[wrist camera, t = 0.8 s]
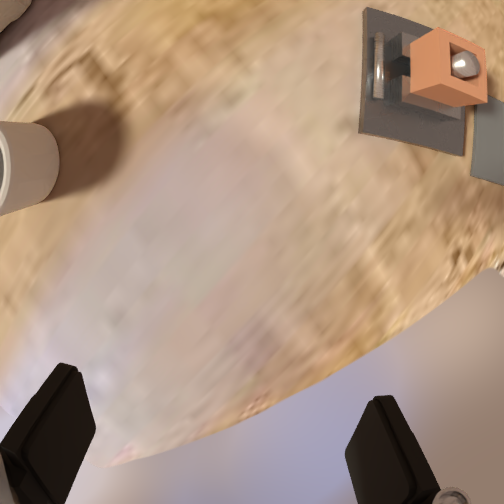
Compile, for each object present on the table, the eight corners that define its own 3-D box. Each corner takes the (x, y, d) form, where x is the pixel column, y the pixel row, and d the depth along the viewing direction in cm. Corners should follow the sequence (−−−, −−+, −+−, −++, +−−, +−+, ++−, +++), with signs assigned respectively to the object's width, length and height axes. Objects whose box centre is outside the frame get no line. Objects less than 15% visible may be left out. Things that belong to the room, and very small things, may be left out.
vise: (362, 11, 28) (401, -32, 17) (456, 44, 28) (510, 23, 17) (358, 133, 32) (405, 125, 21) (455, 156, 33) (516, 162, 22)
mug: (36, 106, 30) (-15, 100, 21) (76, 164, 33) (26, 171, 23) (-14, 178, 32) (-62, 188, 23) (20, 234, 35) (-26, 256, 25)
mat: (474, 90, 30) (477, 89, 29) (525, 116, 30) (528, 116, 30) (470, 175, 33) (472, 176, 33) (521, 191, 34) (523, 192, 33)
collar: (410, 43, 25) (438, 27, 19) (453, 60, 25) (484, 49, 19) (410, 92, 27) (440, 83, 21) (454, 107, 27) (487, 102, 21)
